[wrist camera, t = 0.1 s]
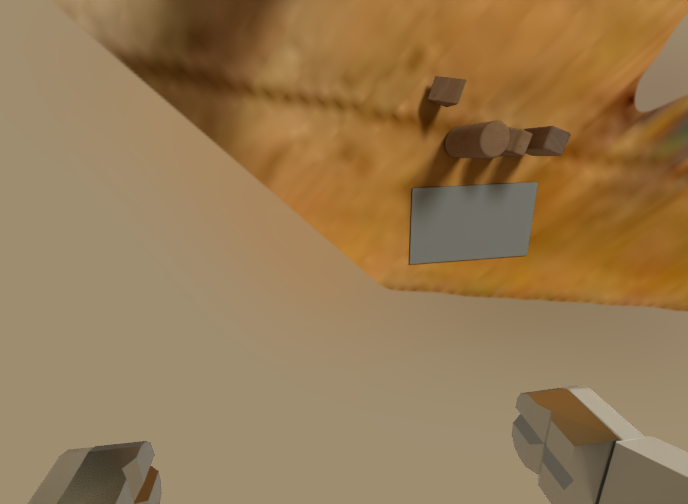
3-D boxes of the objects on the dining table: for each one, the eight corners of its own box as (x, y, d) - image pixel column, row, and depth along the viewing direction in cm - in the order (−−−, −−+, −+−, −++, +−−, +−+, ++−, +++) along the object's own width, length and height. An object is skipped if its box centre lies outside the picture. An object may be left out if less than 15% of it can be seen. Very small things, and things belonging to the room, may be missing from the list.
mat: (412, 188, 56) (412, 188, 56) (537, 181, 58) (537, 182, 58) (409, 263, 60) (409, 264, 60) (526, 254, 62) (527, 255, 62)
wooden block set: (539, 123, 56) (594, 117, 46) (515, 180, 57) (563, 186, 47) (430, 78, 52) (465, 60, 42) (408, 141, 53) (436, 138, 43)
